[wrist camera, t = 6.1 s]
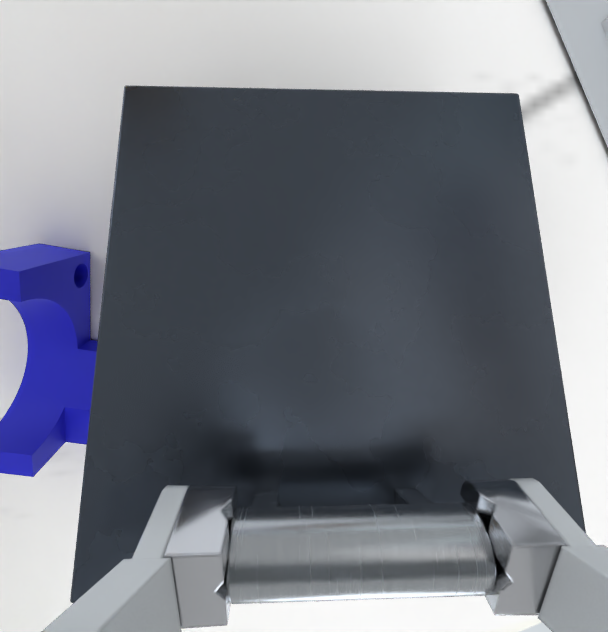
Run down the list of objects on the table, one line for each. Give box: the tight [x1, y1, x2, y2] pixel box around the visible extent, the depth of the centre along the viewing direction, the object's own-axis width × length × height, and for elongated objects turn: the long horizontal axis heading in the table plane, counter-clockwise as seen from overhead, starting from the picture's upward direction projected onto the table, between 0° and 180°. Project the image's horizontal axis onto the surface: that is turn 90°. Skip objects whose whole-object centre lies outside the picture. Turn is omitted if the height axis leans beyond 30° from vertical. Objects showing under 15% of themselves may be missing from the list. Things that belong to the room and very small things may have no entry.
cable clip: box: [0, 244, 98, 477], centre depth 21 cm, size 12×4×6 cm, turn 169°
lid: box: [70, 86, 586, 604], centre depth 10 cm, size 16×15×5 cm
